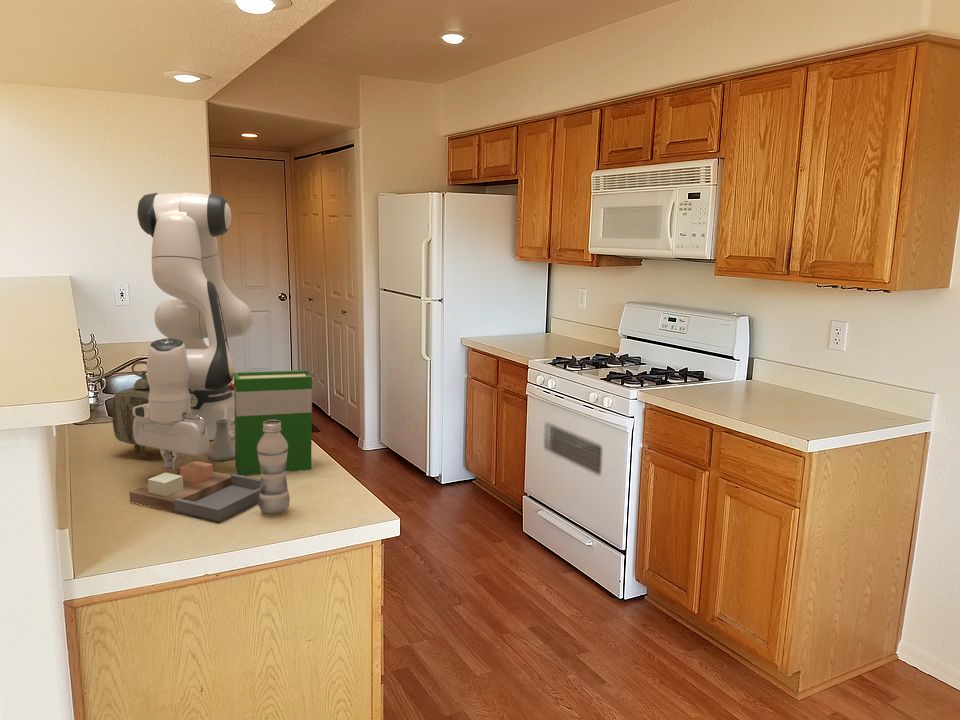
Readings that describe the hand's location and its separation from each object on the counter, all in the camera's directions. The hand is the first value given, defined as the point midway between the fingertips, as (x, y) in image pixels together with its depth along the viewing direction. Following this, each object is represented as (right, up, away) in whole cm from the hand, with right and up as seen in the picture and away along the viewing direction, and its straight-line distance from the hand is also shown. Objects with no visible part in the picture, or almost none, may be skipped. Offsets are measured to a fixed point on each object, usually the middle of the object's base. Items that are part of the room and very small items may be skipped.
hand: (172, 468), depth 170 cm
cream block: (+3, -4, -9) cm, 10 cm away
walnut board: (+4, -5, -4) cm, 8 cm away
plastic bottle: (+27, -8, -13) cm, 31 cm away
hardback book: (+20, -2, +14) cm, 24 cm away
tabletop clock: (-15, 0, +21) cm, 26 cm away
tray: (+16, -6, -9) cm, 19 cm away
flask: (+4, -1, +21) cm, 22 cm away
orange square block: (+6, -2, -1) cm, 7 cm away
